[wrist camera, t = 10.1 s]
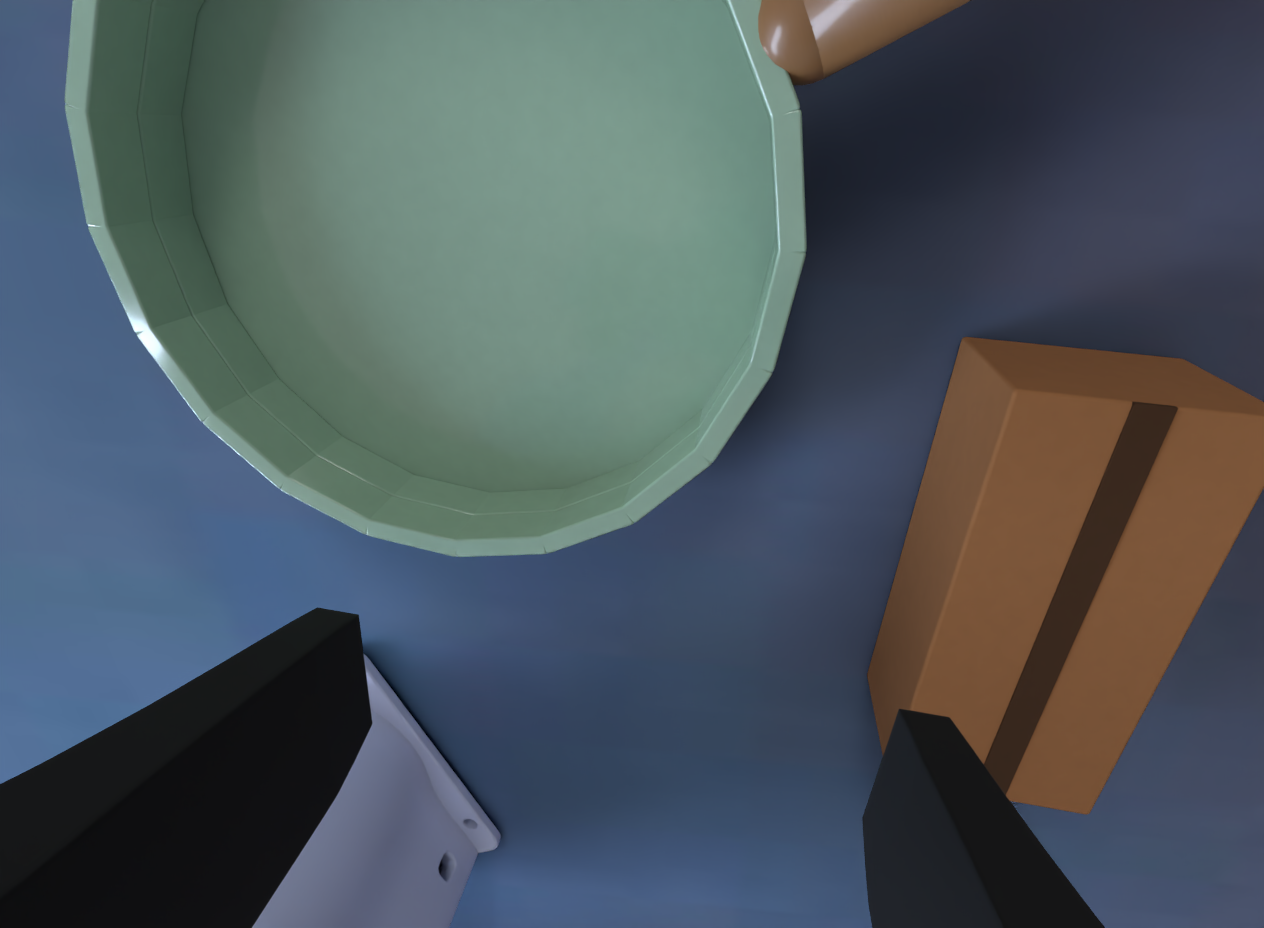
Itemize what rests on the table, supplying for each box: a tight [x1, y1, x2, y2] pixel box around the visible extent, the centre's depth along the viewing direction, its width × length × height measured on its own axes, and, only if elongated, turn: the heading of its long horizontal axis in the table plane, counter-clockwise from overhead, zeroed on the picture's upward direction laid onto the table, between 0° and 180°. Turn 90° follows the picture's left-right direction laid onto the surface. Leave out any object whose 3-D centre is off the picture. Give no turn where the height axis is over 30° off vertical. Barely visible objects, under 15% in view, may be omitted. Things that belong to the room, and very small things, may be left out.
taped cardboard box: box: [867, 337, 1264, 814], centre depth 16 cm, size 10×5×4 cm, turn 176°
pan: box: [65, 0, 807, 557], centre depth 15 cm, size 15×15×3 cm
